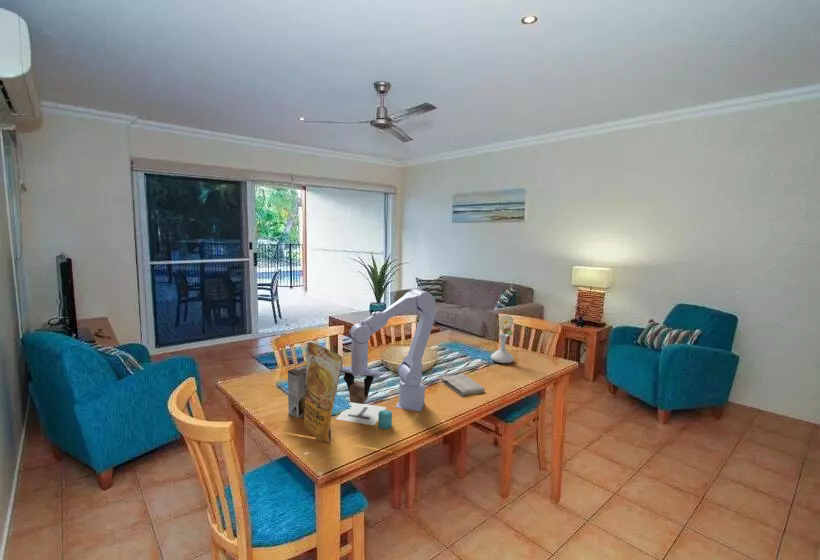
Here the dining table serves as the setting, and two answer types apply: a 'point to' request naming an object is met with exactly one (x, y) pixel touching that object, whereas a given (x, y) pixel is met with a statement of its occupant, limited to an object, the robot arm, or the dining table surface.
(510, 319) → the flower in vase
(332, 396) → the pancake mix bag
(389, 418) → the teal rounded cylinder
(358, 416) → the letter mat
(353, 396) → the walnut block
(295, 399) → the coffee box
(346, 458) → the dining table surface
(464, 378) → the washcloth
